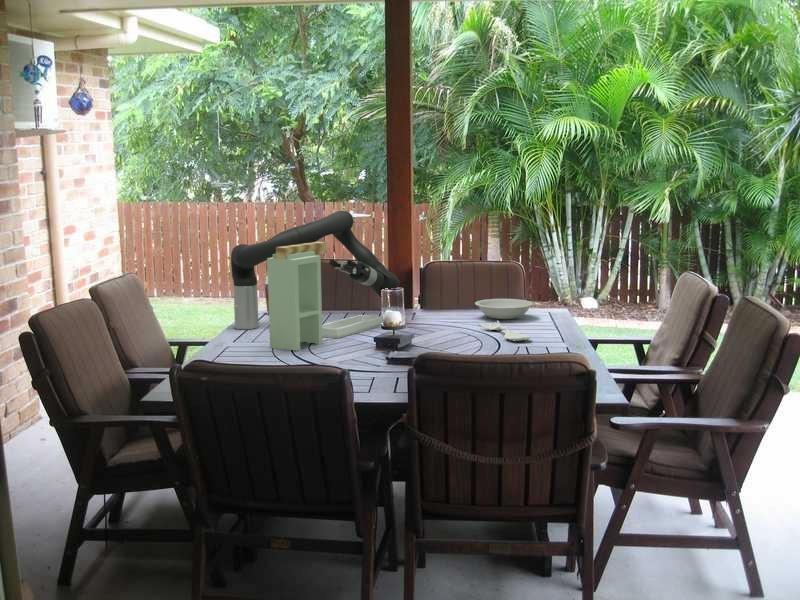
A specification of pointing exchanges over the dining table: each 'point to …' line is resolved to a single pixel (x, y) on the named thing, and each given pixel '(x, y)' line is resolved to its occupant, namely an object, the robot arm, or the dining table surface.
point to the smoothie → (267, 294)
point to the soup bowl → (504, 308)
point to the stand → (294, 300)
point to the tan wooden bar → (300, 249)
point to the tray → (350, 326)
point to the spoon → (509, 333)
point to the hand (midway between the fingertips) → (338, 261)
